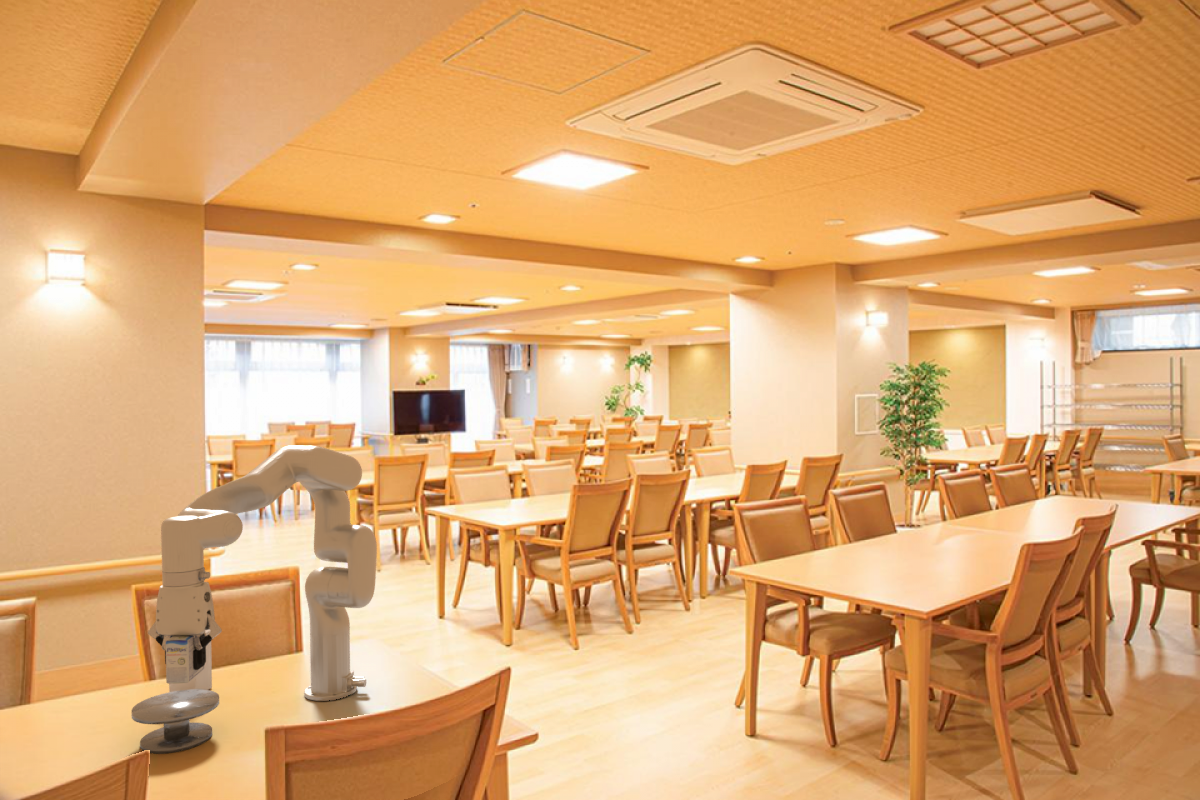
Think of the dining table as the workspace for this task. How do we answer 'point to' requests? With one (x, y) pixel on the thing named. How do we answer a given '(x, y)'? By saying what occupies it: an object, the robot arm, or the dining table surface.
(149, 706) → the cake stand
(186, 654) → the medicine box
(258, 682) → the dining table surface
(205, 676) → the milk carton
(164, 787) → the dining table surface
